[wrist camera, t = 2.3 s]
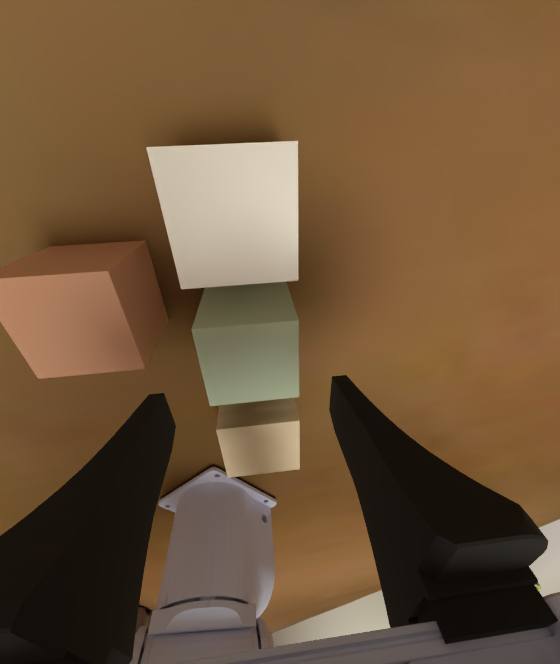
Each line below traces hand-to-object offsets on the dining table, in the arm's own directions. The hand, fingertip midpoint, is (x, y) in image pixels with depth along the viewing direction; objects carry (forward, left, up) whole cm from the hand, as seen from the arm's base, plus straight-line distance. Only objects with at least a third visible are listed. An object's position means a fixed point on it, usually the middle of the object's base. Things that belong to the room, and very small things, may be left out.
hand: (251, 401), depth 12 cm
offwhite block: (+6, -4, -8) cm, 10 cm away
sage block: (0, 0, -8) cm, 8 cm away
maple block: (-6, +4, -8) cm, 10 cm away
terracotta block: (+7, +4, -8) cm, 11 cm away
